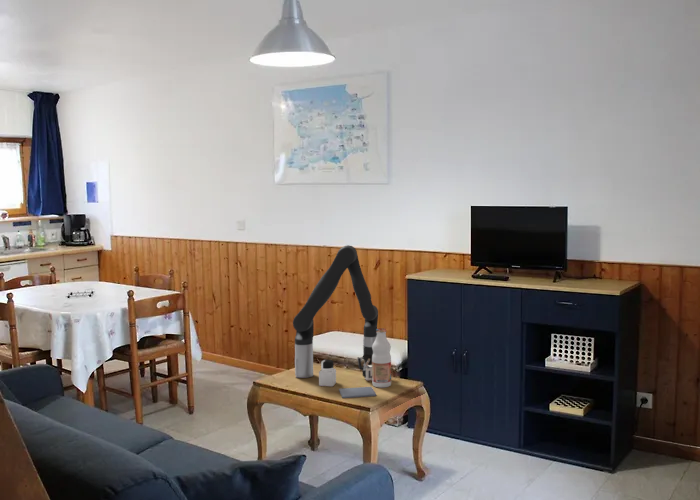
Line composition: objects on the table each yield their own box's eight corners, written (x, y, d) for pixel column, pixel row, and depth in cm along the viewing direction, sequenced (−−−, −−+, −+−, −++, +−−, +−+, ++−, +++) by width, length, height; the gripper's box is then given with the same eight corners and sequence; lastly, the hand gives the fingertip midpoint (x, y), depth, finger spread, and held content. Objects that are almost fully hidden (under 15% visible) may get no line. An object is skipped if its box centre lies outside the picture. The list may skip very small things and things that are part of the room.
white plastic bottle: (368, 384, 321) (367, 328, 319) (383, 381, 327) (383, 326, 324) (379, 389, 314) (379, 332, 311) (395, 385, 319) (394, 329, 316)
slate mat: (342, 398, 301) (342, 396, 301) (338, 390, 313) (338, 388, 313) (376, 395, 303) (376, 394, 303) (371, 388, 315) (371, 386, 315)
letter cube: (366, 380, 328) (366, 368, 327) (364, 377, 334) (364, 365, 333) (378, 379, 329) (377, 368, 328) (375, 376, 335) (375, 364, 334)
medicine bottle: (336, 382, 326) (335, 358, 324) (333, 386, 319) (332, 362, 317) (322, 381, 327) (322, 358, 326) (318, 385, 320) (318, 362, 319)
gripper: (383, 342, 335) (383, 373, 336) (355, 343, 332) (355, 375, 334) (386, 345, 327) (386, 378, 329) (358, 347, 325) (358, 379, 327)
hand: (371, 376), depth 331 cm, fingers closed on letter cube, 6 cm apart
